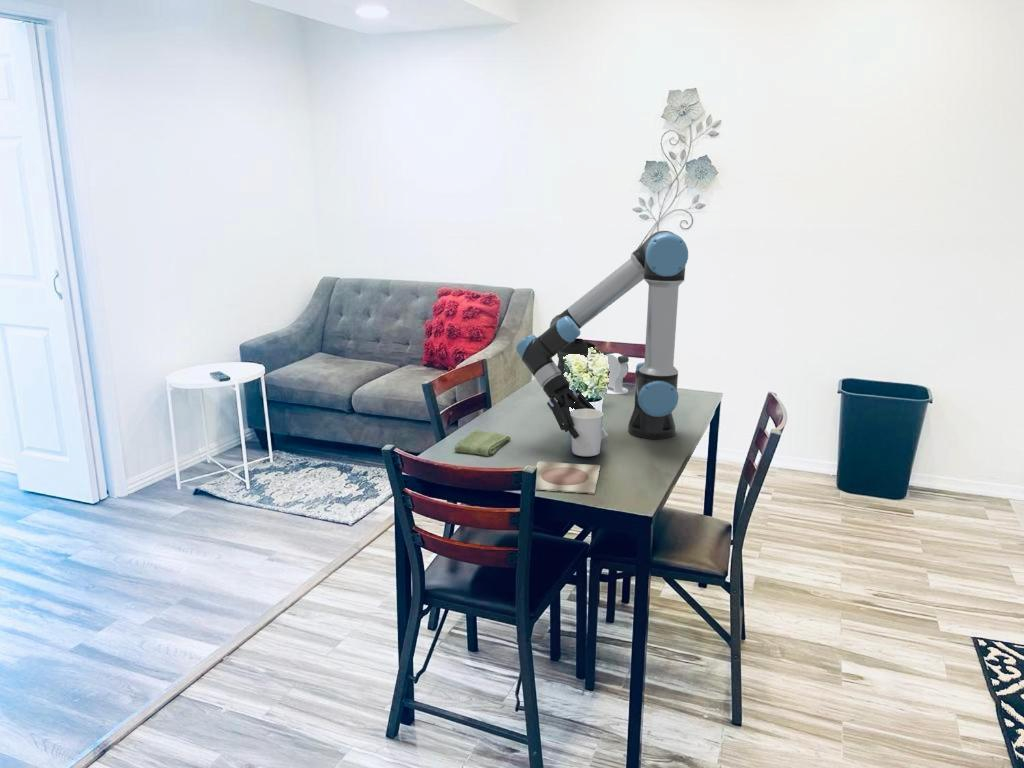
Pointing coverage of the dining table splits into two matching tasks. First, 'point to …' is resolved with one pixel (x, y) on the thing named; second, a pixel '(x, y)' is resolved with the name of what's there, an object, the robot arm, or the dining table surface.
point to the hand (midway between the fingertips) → (595, 441)
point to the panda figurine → (617, 372)
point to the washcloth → (481, 443)
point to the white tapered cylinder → (587, 431)
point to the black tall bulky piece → (573, 351)
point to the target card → (567, 477)
